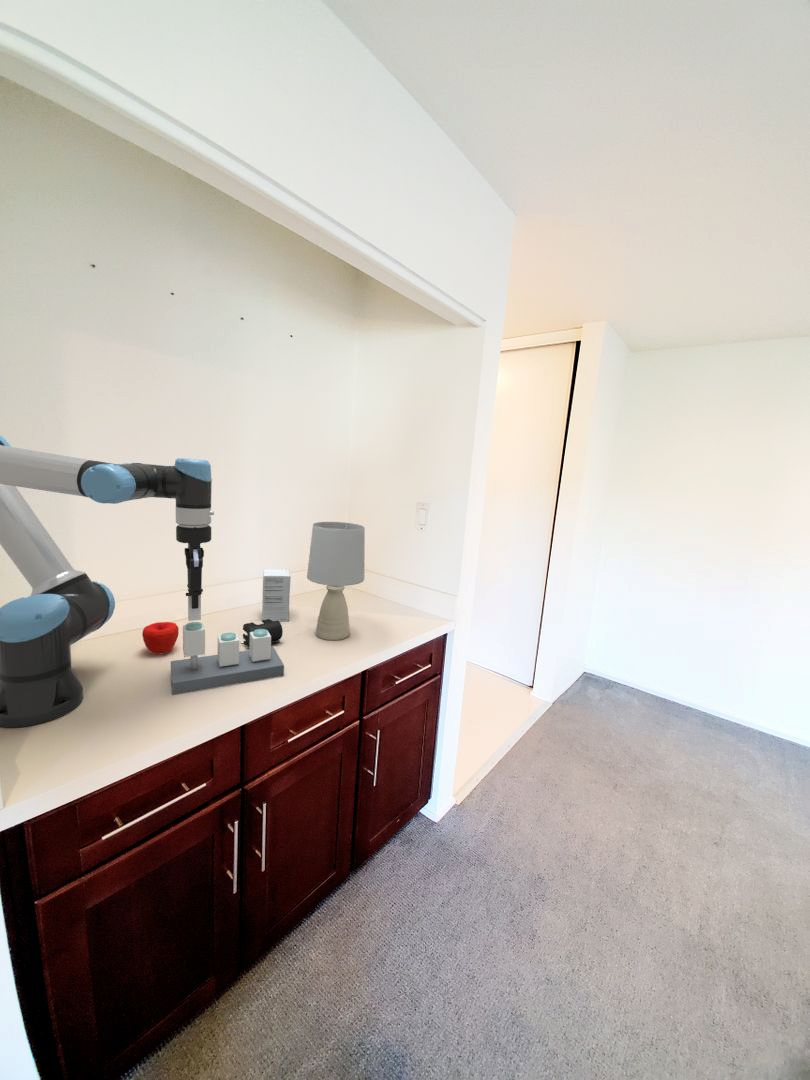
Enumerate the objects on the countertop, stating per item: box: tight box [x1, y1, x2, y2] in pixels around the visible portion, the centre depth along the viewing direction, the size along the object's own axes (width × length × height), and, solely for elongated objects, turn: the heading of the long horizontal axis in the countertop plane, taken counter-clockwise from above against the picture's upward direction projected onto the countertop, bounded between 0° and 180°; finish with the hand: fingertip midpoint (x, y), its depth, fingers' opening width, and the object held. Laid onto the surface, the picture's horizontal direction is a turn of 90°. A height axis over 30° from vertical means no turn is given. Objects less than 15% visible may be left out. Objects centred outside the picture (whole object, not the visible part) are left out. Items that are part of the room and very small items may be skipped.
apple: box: [141, 621, 179, 655], centre depth 120 cm, size 9×9×8 cm
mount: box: [170, 646, 285, 696], centre depth 111 cm, size 26×12×8 cm, turn 120°
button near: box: [182, 621, 206, 658], centre depth 105 cm, size 5×5×7 cm
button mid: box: [217, 632, 240, 667], centre depth 110 cm, size 5×5×7 cm
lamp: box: [306, 521, 366, 641], centre depth 139 cm, size 19×19×37 cm
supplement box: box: [261, 568, 291, 622], centre depth 152 cm, size 10×9×17 cm
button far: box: [248, 629, 272, 662], centre depth 114 cm, size 5×5×7 cm
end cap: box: [242, 619, 284, 648], centre depth 130 cm, size 10×7×7 cm
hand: (194, 619), depth 104 cm, fingers closed
